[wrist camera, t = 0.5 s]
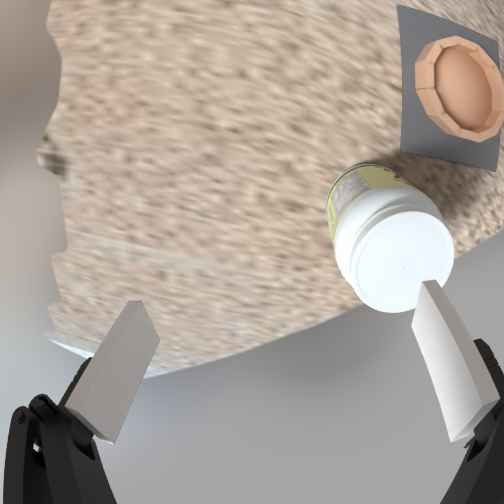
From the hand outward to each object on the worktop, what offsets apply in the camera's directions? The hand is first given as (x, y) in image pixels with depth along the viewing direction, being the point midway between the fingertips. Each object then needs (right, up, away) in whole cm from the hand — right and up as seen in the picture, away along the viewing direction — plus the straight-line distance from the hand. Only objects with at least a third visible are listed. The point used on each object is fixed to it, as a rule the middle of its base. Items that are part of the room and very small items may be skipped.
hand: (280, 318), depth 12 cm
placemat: (+27, +26, +13) cm, 40 cm away
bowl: (+27, +25, +13) cm, 39 cm away
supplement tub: (+15, +10, +24) cm, 30 cm away
